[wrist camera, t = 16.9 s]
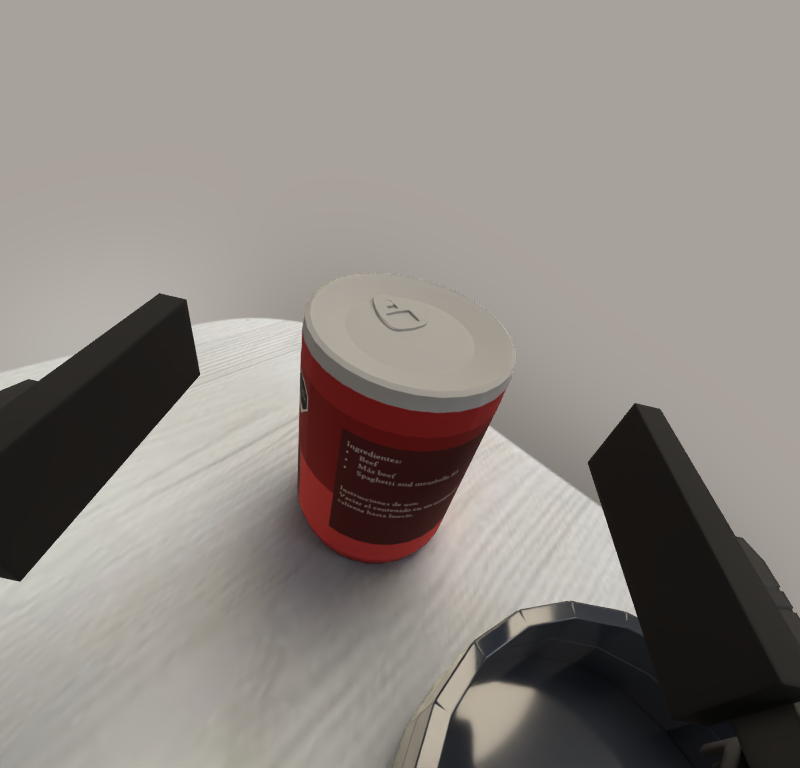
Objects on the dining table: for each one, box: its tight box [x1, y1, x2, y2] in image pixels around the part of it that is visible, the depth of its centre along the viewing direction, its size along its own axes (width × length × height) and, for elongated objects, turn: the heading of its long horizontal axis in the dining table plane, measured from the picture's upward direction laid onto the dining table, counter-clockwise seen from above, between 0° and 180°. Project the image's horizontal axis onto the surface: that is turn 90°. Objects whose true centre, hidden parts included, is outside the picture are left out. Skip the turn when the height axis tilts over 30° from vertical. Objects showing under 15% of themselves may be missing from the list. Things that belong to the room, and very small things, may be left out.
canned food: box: [298, 273, 517, 563], centre depth 17 cm, size 8×8×11 cm
